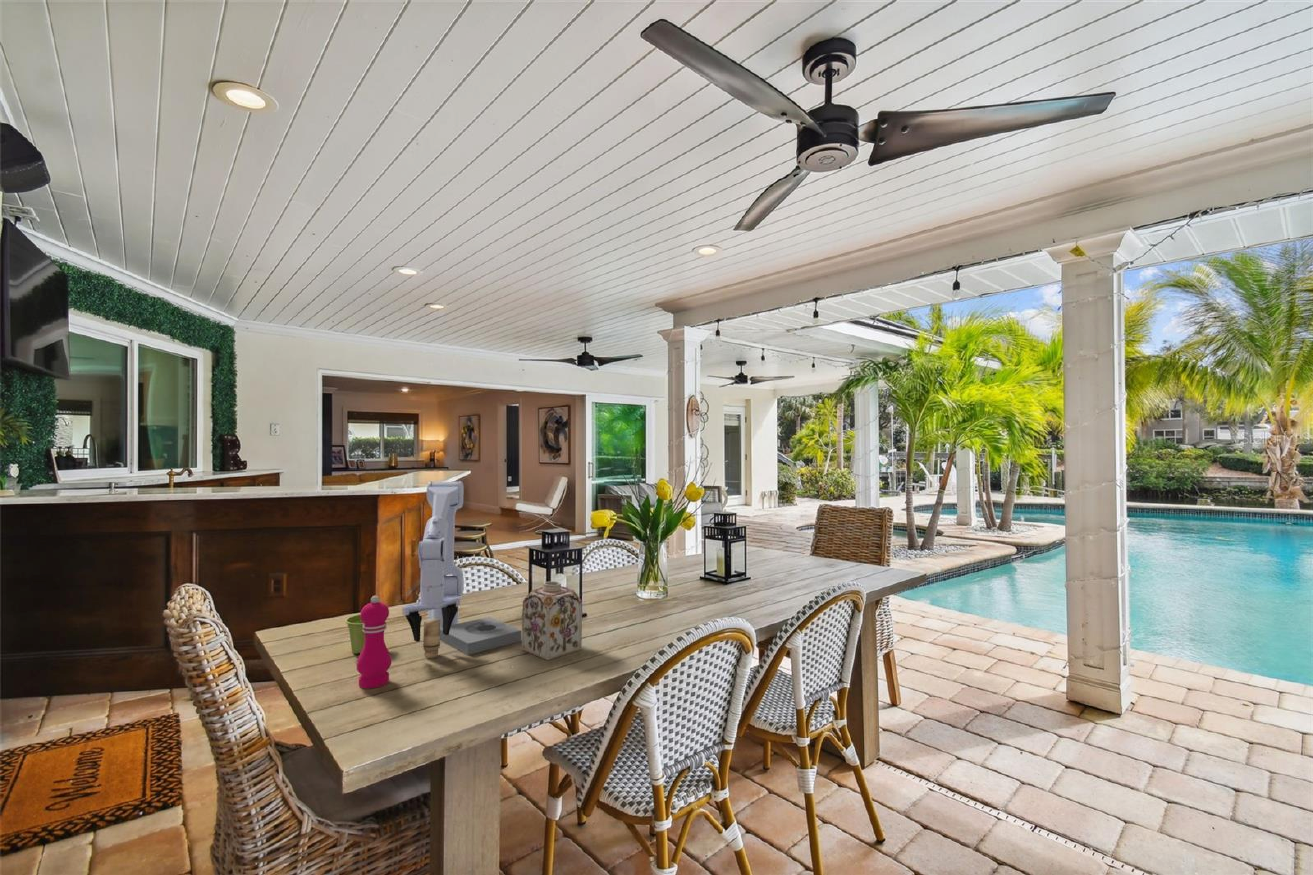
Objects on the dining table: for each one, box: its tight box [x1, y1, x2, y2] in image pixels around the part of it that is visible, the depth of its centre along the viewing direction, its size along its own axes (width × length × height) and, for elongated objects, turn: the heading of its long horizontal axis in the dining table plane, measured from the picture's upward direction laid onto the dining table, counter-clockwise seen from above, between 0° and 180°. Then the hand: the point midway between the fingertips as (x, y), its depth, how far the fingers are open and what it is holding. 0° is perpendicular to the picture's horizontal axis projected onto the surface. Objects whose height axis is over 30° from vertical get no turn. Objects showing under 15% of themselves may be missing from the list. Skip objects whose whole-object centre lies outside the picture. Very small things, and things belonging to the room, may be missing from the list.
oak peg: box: [422, 619, 441, 659], centre depth 153 cm, size 4×4×9 cm
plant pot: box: [345, 613, 365, 655], centre depth 157 cm, size 9×9×9 cm
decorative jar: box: [521, 580, 583, 661], centre depth 158 cm, size 12×12×18 cm
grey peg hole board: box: [440, 616, 522, 656], centre depth 166 cm, size 18×16×3 cm
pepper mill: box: [356, 595, 392, 689], centre depth 135 cm, size 7×7×20 cm
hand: (431, 637), depth 153 cm, fingers open, 7 cm apart
